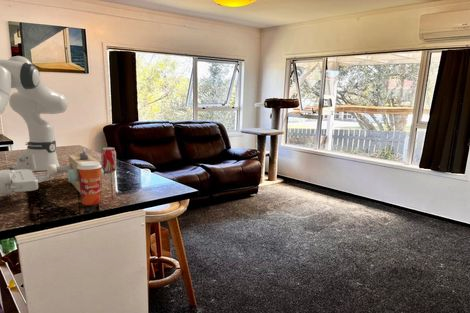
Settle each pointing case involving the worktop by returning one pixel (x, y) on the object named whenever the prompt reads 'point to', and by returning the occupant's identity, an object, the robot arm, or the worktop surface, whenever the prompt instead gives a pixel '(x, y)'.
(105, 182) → the worktop surface
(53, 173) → the cream knob
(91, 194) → the coffee cup
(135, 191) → the worktop surface
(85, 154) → the potentiometer
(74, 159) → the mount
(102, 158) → the soda can
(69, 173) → the teal knob
